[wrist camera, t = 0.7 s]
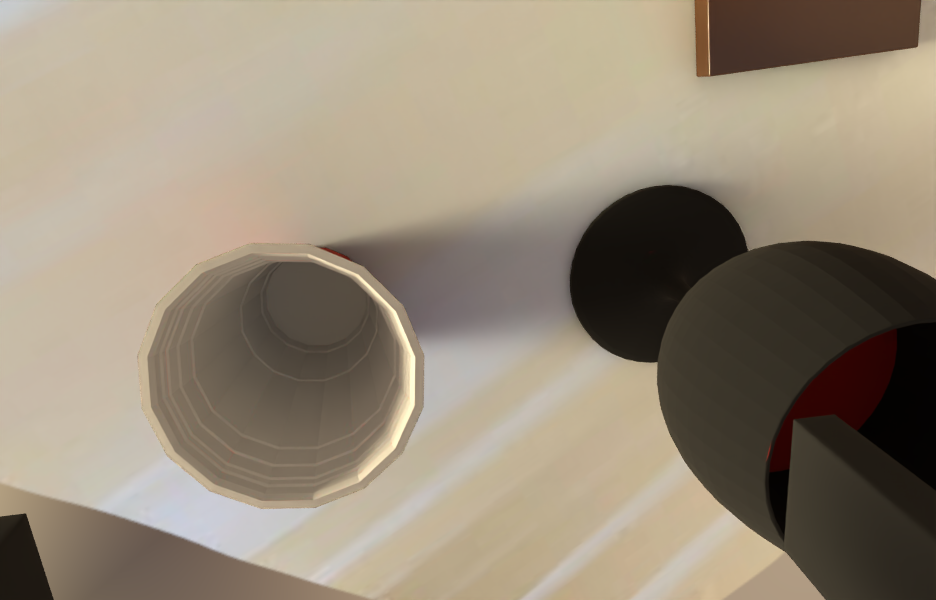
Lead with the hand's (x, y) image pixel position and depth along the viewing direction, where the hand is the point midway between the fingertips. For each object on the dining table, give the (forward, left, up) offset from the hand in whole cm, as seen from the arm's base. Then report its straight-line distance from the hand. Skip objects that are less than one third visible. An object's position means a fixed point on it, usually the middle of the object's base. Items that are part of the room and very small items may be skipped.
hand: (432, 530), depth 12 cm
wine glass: (+5, +14, -26) cm, 30 cm away
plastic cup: (+3, -5, -26) cm, 27 cm away
